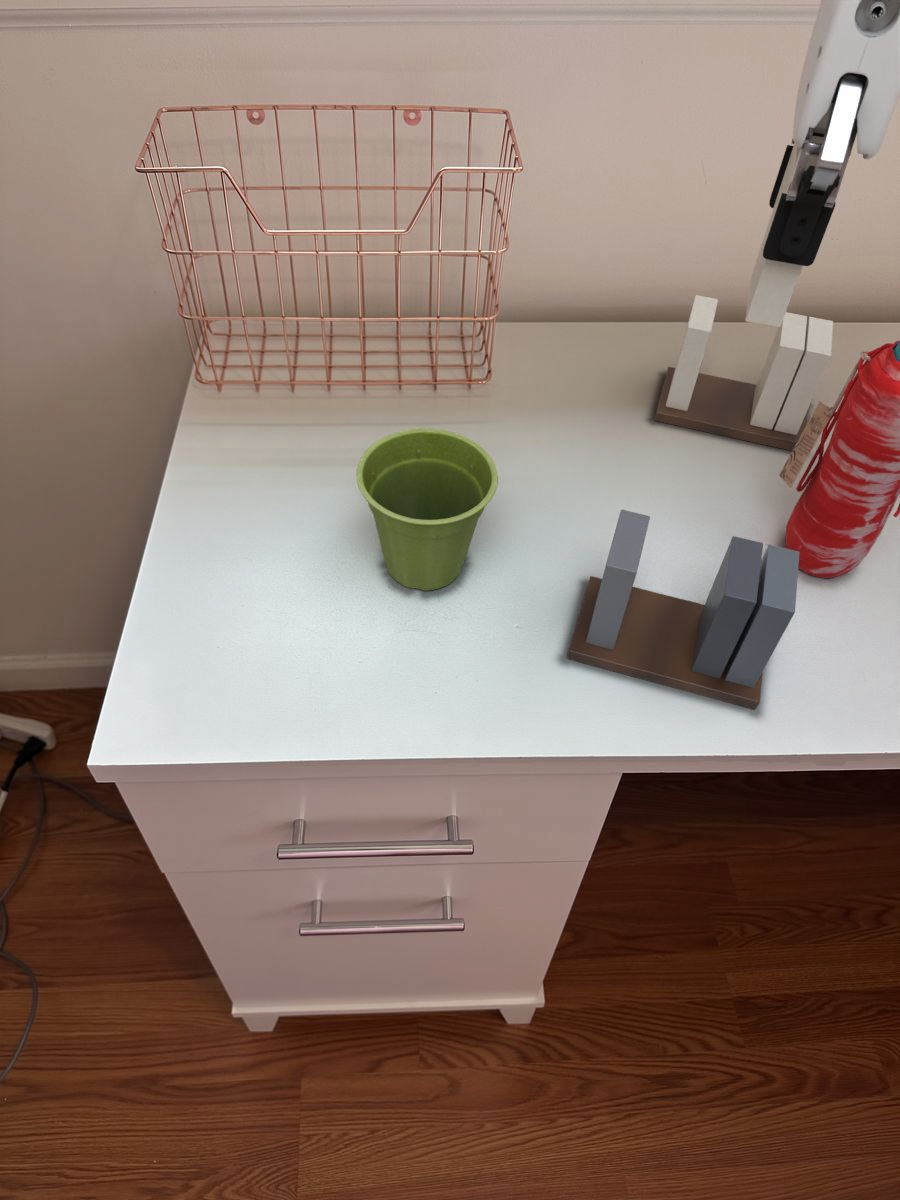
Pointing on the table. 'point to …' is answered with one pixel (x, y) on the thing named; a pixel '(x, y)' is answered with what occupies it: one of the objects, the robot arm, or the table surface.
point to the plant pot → (426, 501)
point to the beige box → (775, 267)
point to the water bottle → (848, 469)
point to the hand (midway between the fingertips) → (789, 231)
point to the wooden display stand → (743, 407)
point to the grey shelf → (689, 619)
